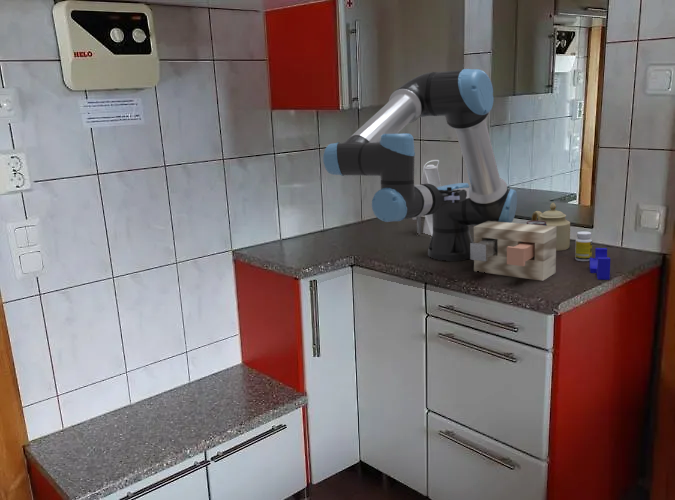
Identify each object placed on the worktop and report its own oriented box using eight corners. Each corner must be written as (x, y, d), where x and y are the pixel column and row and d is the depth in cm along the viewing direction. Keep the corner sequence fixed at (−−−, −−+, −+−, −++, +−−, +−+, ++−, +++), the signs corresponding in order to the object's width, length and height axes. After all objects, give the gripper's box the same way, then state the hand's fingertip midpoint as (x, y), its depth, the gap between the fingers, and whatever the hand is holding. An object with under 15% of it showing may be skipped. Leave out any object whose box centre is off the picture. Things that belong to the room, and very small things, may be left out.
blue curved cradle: (589, 267, 183) (589, 247, 182) (605, 268, 182) (606, 248, 180) (591, 279, 172) (592, 258, 171) (609, 280, 171) (610, 258, 169)
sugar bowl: (517, 247, 211) (518, 202, 207) (533, 240, 218) (534, 197, 215) (560, 252, 201) (561, 206, 197) (575, 245, 208) (576, 200, 205)
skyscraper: (432, 231, 243) (430, 159, 236) (447, 234, 236) (445, 160, 230) (415, 235, 238) (413, 161, 231) (431, 238, 232) (429, 162, 225)
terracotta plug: (506, 264, 172) (506, 247, 170) (525, 253, 181) (526, 237, 180) (523, 266, 169) (523, 248, 167) (542, 255, 178) (542, 239, 177)
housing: (474, 271, 187) (473, 226, 183) (488, 263, 193) (487, 220, 190) (543, 280, 173) (543, 233, 170) (555, 272, 180) (556, 226, 177)
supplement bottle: (593, 261, 189) (594, 234, 187) (576, 261, 190) (577, 234, 188) (590, 257, 193) (591, 230, 191) (573, 257, 194) (574, 231, 192)
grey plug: (470, 259, 179) (470, 243, 177) (490, 249, 188) (490, 233, 187) (485, 261, 175) (485, 244, 174) (505, 251, 185) (505, 235, 184)
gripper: (397, 215, 154) (445, 206, 172) (444, 216, 146) (489, 207, 164) (396, 184, 153) (444, 179, 171) (444, 184, 145) (489, 178, 163)
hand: (466, 192), depth 168 cm, fingers closed
